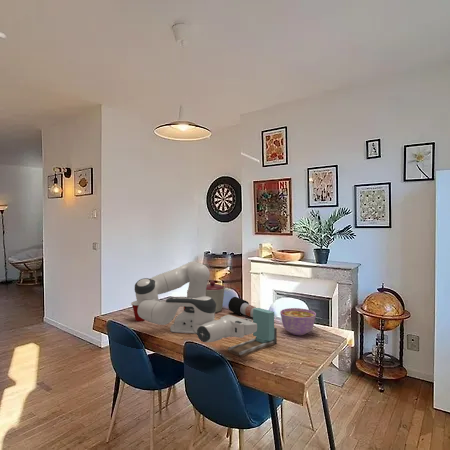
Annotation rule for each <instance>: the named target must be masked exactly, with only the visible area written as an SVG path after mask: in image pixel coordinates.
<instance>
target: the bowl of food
mask: <svg viewBox="0 0 450 450" xmlns="http://www.w3.org/2000/svg"><path fill="white" fill-rule="evenodd" d="M279 314H280V319H281V322H282V325H283V327H284V329H285V330H286V331H287V332H288V333H290V334H291V335H293V336H304V335H306V334H308V333H310V332H311V331H312V330H313V328H314V324H315V320H316V317H317V313H316V312H315V311H314V310H312V309H307V308H299V307H292V308H291V307H290V308H284V309H281V310H280V312H279Z"/></svg>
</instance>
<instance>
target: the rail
mask: <svg viewBox="0 0 450 450" xmlns="http://www.w3.org/2000/svg"><path fill="white" fill-rule="evenodd" d="M277 329H278V328H277V327H274V340H271V341H269V342H266V343H261V342H258V341H256V337H255V338H252V339H250V340H247V341H244V342H241V343H238V344H235V345H232V346H229V347H227V348H228V349H227V352H228V353H229V354H230V353H231V354H233V355H235V356H237V357H239V358H243V357H245V356H247V355H250V354H253V353H256V352H258V351H261V350H264V349H266V348H269V347H272V346H274V345H277V344H278V342H277V341H278V340H277V339H278V338H277V337H278V335H277V334H278V333H277V332H278V331H277Z"/></svg>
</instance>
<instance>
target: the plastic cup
mask: <svg viewBox="0 0 450 450" xmlns="http://www.w3.org/2000/svg"><path fill="white" fill-rule="evenodd" d="M130 304H131V306H132V309H133V315H134V319H135V322H144V321H145V320H144V319H142V318H141V317H140V316H139V315H138V312H137V310H138V306H139V305H138V302H137V300H134V301H132V302H131V303H130Z"/></svg>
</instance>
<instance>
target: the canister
mask: <svg viewBox="0 0 450 450" xmlns="http://www.w3.org/2000/svg"><path fill="white" fill-rule="evenodd" d="M225 289H226V286H224V285H222V284H217V283H216V282H215V281H214V280H211V281H210V282H209V283H207V287H206V296H207V297H211V298H213V300H214V301H215V302H216V310H215V313H219V312H221V311H222V309H223V303H224V295H225Z"/></svg>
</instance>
